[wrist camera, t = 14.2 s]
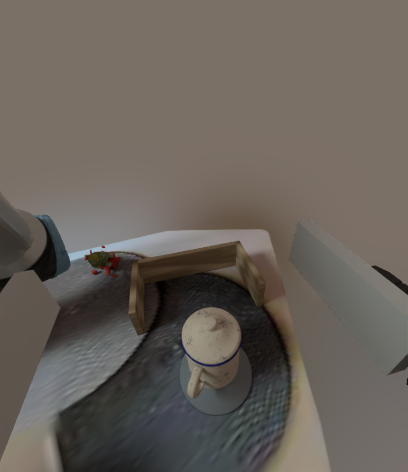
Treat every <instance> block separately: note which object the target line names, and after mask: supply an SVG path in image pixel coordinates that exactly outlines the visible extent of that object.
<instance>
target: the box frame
mask: <svg viewBox="0 0 408 472" xmlns="http://www.w3.org/2000/svg"><path fill="white" fill-rule="evenodd" d="M235 265H236V267H237V269H238V271H239V272H240V274H241V276H242V278H243V280H244V282H245V284H246V286H247V288H248V290H249V292H250V294H251V296H252V298H253V300H254V302H255V304H256V306H257V307H258V306H262V304H263V297H264V290H265V281H264V280H263V278H262V277H261V275H260V273H259V272H258V270H257V268H256V267H255V265H254V264H253V262H252V260H251V259H250V257H249V256H248V254H247V252H246V251H245V249H244V248H243V246H242V244H241V243H240V241H235V242H230V243H225V244H219V245H214V246H209V247H204V248H198V249H193V250H188V251H183V252H177V253H172V254H167V255H162V256H156V257H151V258H146V259H141V260H135V261H132V273H131V286H130V299H129V311H128V314H129V316H130V319H131V321H132V323H133V326H134V328H135V330H136V332H137V335H141V334H144V284H148V283H153V282H157V281H162V280H167V279H172V278H177V277H182V276H186V275H191V274H196V273H201V272H206V271H210V270H215V269H220V268H225V267H230V266H235Z"/></svg>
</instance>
